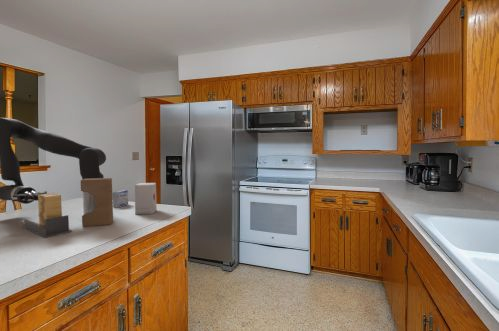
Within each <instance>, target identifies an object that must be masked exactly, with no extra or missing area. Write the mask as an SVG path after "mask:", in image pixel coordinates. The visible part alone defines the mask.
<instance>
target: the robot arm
mask: <svg viewBox="0 0 499 331" xmlns="http://www.w3.org/2000/svg"><path fill="white" fill-rule="evenodd" d="M12 138H13V139H20V140H24V141H28V142H29V143H32V144H34V145H35V147H37V148H39V149H41V150H43V151H45V152H49V153H51V154H55V155H59V156H63V157H71V158H76V159H77V160H78V165H79V174H80V177H81V178H82V179H81V180H83V179H92V178H105V177H104V174H103V173H102V172H101V170H100V166H102V165H104V164H105V162H106V160H107V156H106V154H105V152H104V151H103V150H102V149H100V148H97V147H92V146H88V145H84V144H82V143H78V142H76V141H74V140H71V139H69V138H66V137H64V136H62V135H59V134H56V133H53V132H50V131H47V130H44V129H39V128H36V127H34V126H31V125H29V124H27V123H25V122H23V121H20V120H19V119H16V118H15V119H13V118H7V117H0V174H1V175H0V176H1V179H2V180H3V181H9V182H10V181H11V182H13V183H14V184H8V185H2V186H0V200H1V201H12V202H17V203H20V204H24V205H25V204H26V205H27V204H31V203H33V202H34V201H37V202H38V195H41V194H48V191H45V190H44V191H41V192H40V191H37V190H36V189H34V188H33V187H30V186H25V185H24V183H23V180H22V178H21V166H20V160H19V158H18V156H17V155H16V153H15V151H14V149H13V147H12V142H11V140H12ZM82 205H83V215H84V214H86V213H88V212H92V211H93V210H94V208H95V207H96V199H95V198H94V197H93V195H91V194H90V193H88V192H83V191H82Z"/></svg>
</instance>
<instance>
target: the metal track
mask: <svg viewBox="0 0 499 331" xmlns="http://www.w3.org/2000/svg"><path fill="white" fill-rule="evenodd" d="M23 221H24V225H23V224H21V228H22V229H24V230H26V231H29V232H31V233H34V234H35V235H37V236H40V237H42V238H45V239H46V238H51V237H54V236H59V235H63V234H67V233H72V229H70V224H69V223H70V222H69V221H70V220H69V215H62V216H60V217H55V218H49V219H45V227H44V226H42V225H39V221H38V222H34V221H32V220H29V219H24V220H23Z"/></svg>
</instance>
